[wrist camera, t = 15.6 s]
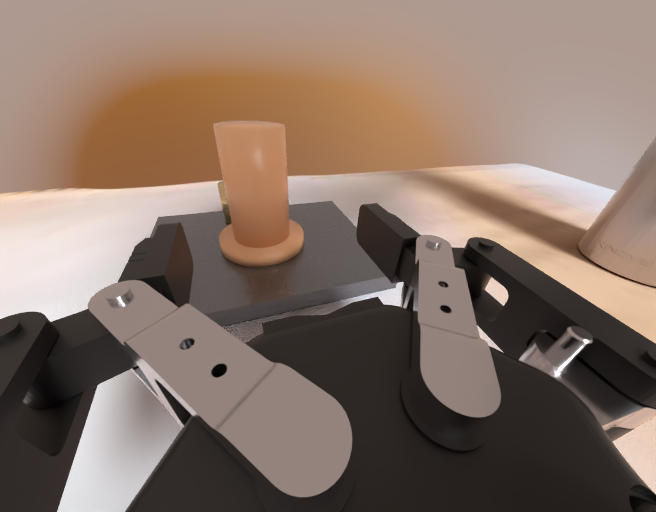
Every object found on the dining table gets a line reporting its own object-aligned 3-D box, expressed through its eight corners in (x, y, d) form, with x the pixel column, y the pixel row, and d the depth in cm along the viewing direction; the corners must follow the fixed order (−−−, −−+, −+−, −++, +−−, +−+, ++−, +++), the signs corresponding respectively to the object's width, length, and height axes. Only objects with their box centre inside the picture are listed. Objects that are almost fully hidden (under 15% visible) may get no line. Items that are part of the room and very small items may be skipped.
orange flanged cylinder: (293, 220, 28) (290, 119, 22) (313, 258, 22) (315, 133, 16) (220, 228, 26) (196, 117, 20) (221, 273, 20) (187, 134, 14)
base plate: (331, 211, 34) (333, 170, 31) (395, 287, 22) (410, 231, 19) (163, 229, 28) (144, 180, 25) (120, 349, 16) (73, 281, 12)
